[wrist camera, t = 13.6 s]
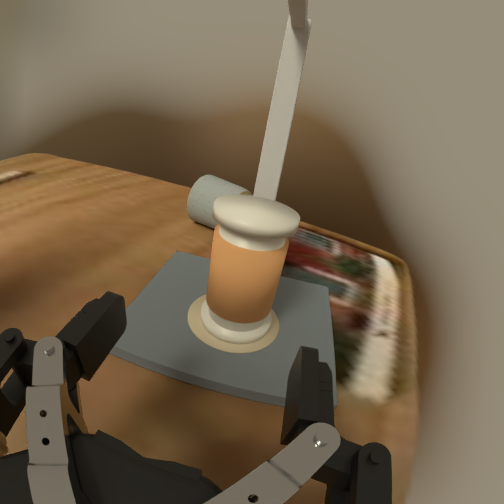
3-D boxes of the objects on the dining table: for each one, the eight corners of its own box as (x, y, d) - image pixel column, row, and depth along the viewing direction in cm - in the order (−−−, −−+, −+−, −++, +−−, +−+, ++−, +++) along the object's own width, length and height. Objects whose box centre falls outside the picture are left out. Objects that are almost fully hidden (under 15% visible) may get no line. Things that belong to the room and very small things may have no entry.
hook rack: (103, 350, 19) (143, -84, 5) (176, 259, 33) (216, -5, 19) (330, 413, 18) (467, -40, 4) (324, 295, 32) (393, 27, 18)
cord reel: (190, 332, 21) (201, 212, 17) (211, 291, 27) (226, 189, 22) (264, 351, 21) (299, 234, 16) (273, 307, 26) (300, 206, 22)
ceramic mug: (228, 244, 39) (237, 191, 36) (183, 225, 42) (188, 176, 39) (260, 225, 48) (270, 182, 45) (220, 211, 51) (227, 170, 47)
